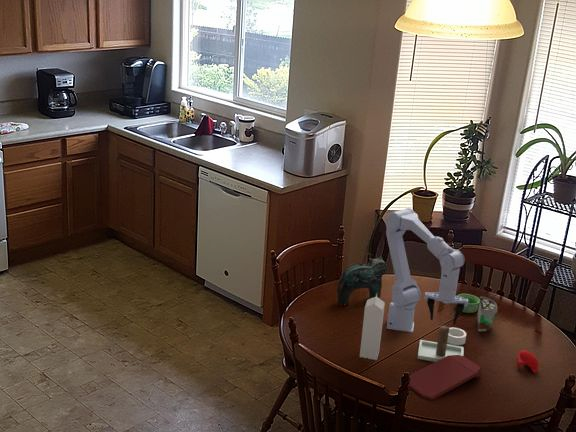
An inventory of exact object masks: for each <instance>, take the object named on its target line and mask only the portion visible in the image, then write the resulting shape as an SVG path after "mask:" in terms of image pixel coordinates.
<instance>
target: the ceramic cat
mask: <svg viewBox="0 0 576 432" xmlns="http://www.w3.org/2000/svg"><path fill="white" fill-rule="evenodd" d="M367 256H371V258H370V257H368V260H369V261H368V263H367V264H365V263H359V262H355V263H351V264H348V265H347V266H346V267H345V268H344V270H343V272H342V273H341V275H340V278H339V279H338V282H337V288H336V289H337V303H338V304H339V305H340V306H341V305H344V304H348V305H349V299H350V296H351V294H352V293H353V292H354V291H356V290H360V289H368V292H369V299H371V298H374V297H376V294H377V297H378V298H379V299H381V292H382V284H383V283H382V281H383V279H382V277H383V276H384V275H385V273H386V271H387V263H386V262H385V261H384V260H383V256H382V255H380V256H379V257H377V258H374V257H373V254H372V253H366V254H365V255H364V256H363V258H366V257H367ZM344 306H345V305H344Z"/></svg>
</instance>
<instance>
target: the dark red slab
mask: <svg viewBox="0 0 576 432" xmlns="http://www.w3.org/2000/svg"><path fill="white" fill-rule="evenodd" d="M481 369H482V367H481V366H480V365H478V364H477V363H475V362H474V361H472V360H470V359H469V358H467V357H466V356H465V355H464V354H463V355H462V356H460V355H449V356H446V357H444V358H442V359H440V360H438V361H436V362H432V363H430V364H429V365H427V366H424V367H422V368H421V369H419V370H417V371H415V372H413V373H411V374H410V379H411V380H410V385H409V386H408V387H409V388H410V389H412V391H414V392H415V393H417V394H418V395H420V396H421V397H423V398H426V399H428V400H435V399H437V398H439V397H440V396H441V397H442V396H443V395H445V394H446V393H449V391H452V390H453V389H455V388H457V387H459V386H461V385H462V384H464V383H466V382H468V381H469V380H471V379H473V378H475V379H477V378H479V377H481V375H482V373H481V372H482V371H481Z"/></svg>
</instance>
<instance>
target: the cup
mask: <svg viewBox="0 0 576 432" xmlns="http://www.w3.org/2000/svg"><path fill="white" fill-rule="evenodd" d="M448 328H449V334H448V341H447V344H448V345H454V346H463V345H464V344H466V339H467V332H466V331H465V330H464V329H461V328H459V327H448Z"/></svg>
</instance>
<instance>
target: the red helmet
mask: <svg viewBox="0 0 576 432" xmlns="http://www.w3.org/2000/svg"><path fill="white" fill-rule="evenodd" d="M515 360H516V365H517V368H518V370H521V366H523V365H524V366H527V367H529V368H530V369H531V372H533V374H537V373H538V371H539V361H538V359H537V357H536V356H535V354H534V353H532V352H530V351H528V350H524V349H523V350H520V351H519V353H518V354H517V355H516V359H515Z"/></svg>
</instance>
